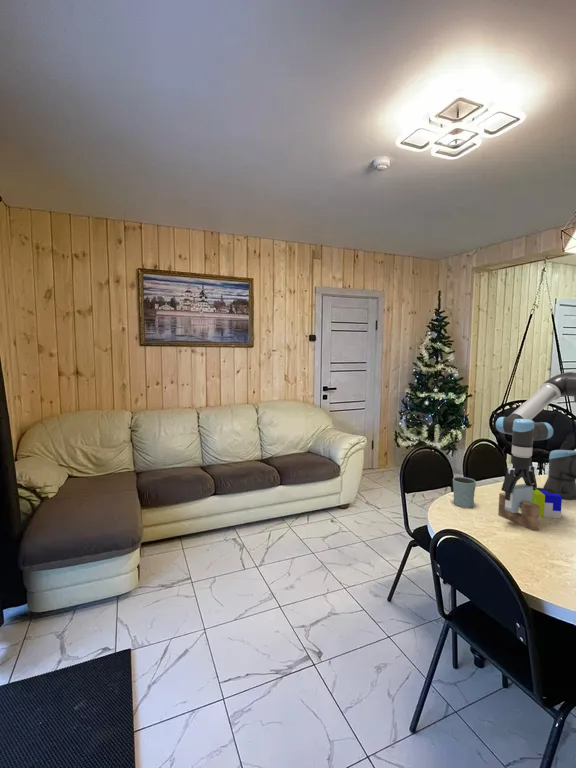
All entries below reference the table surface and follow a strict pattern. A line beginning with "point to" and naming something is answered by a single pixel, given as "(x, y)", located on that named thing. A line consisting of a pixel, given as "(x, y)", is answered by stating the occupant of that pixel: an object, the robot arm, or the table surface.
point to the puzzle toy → (547, 502)
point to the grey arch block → (520, 496)
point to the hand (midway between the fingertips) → (518, 505)
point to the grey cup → (464, 491)
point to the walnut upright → (527, 515)
